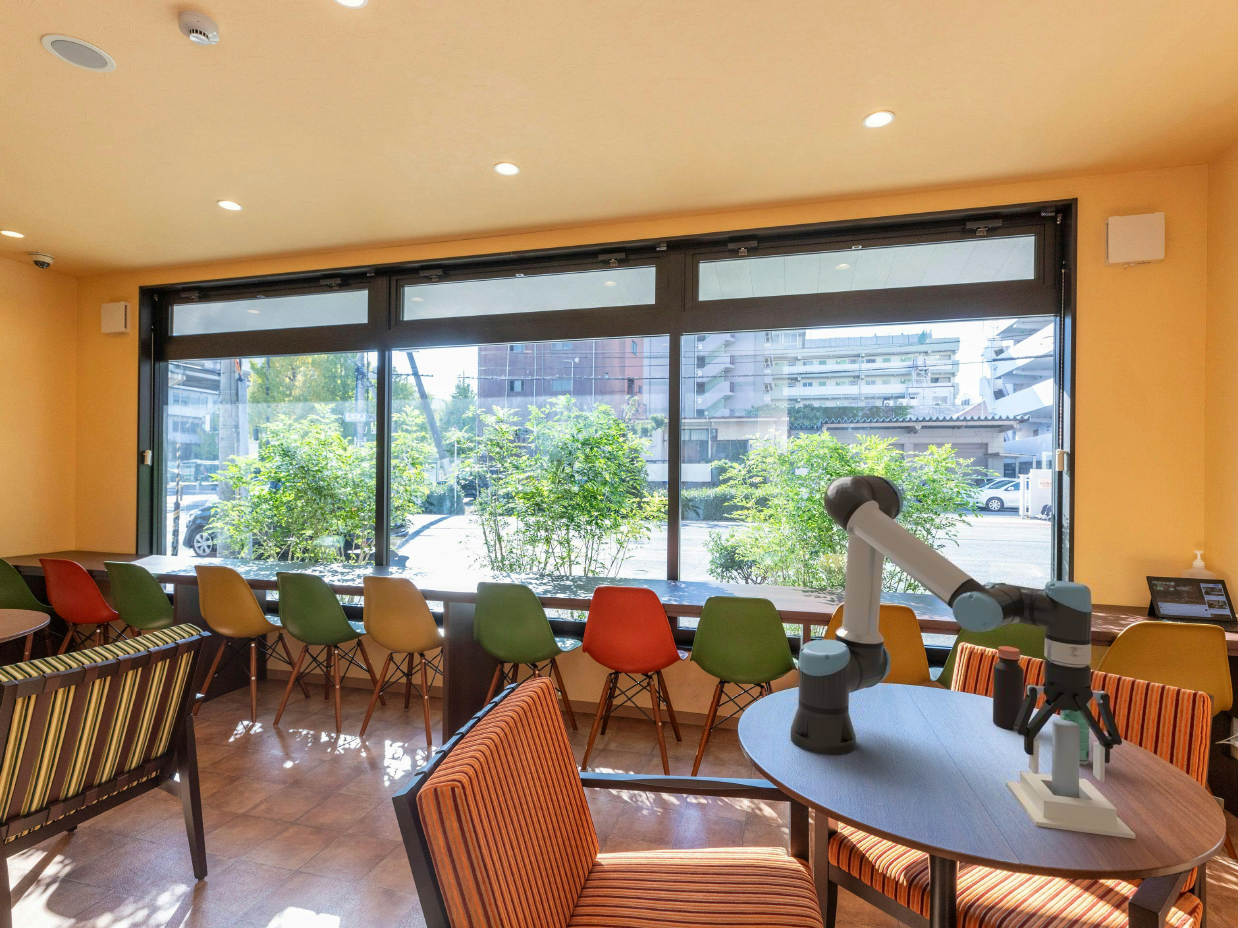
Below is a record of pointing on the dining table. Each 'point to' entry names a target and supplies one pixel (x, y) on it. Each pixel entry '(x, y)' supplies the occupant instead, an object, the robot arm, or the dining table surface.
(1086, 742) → the spray can
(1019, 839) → the dining table surface
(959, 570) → the robot arm
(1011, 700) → the bottle
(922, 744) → the dining table surface
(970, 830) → the dining table surface
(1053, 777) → the peg
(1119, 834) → the socket
